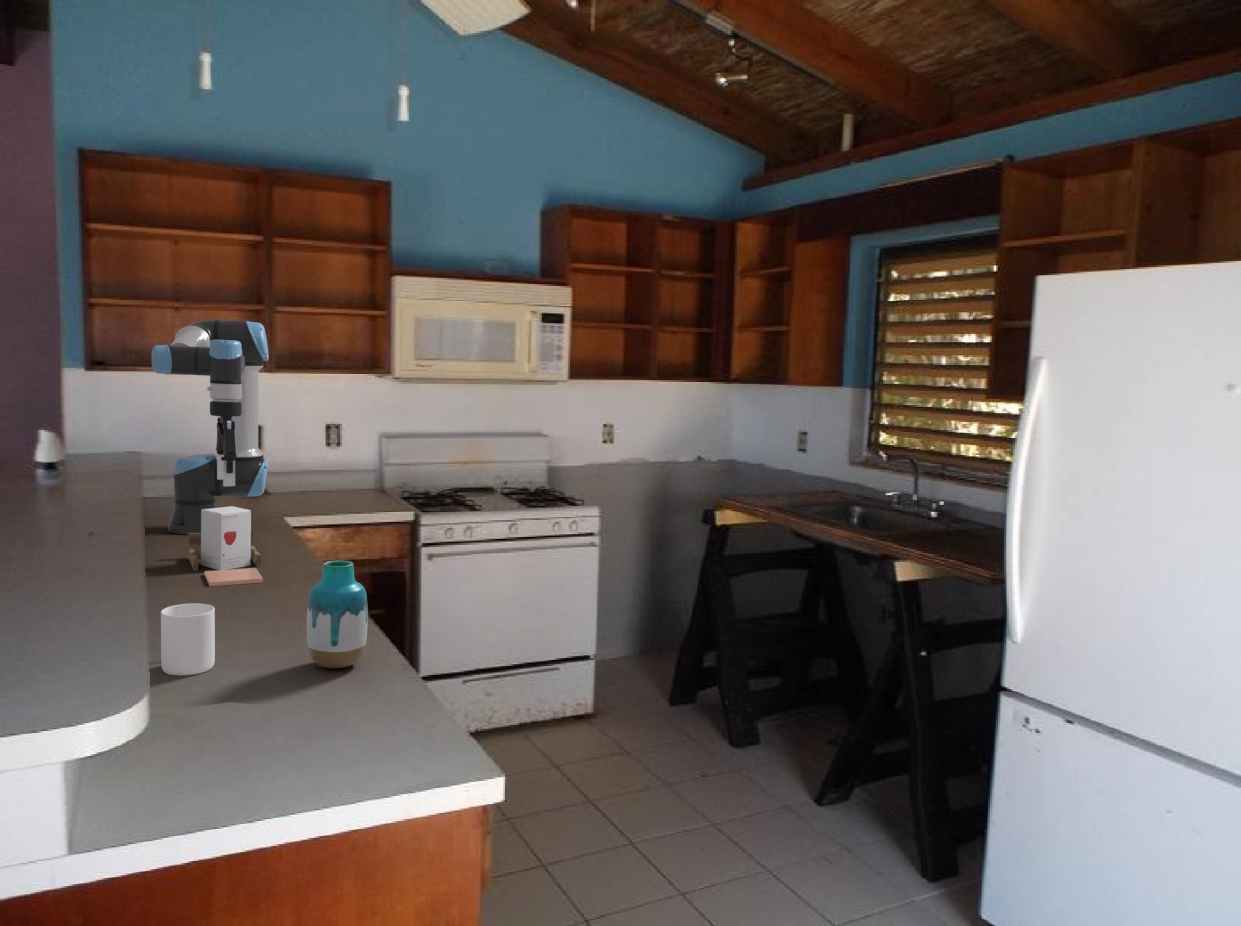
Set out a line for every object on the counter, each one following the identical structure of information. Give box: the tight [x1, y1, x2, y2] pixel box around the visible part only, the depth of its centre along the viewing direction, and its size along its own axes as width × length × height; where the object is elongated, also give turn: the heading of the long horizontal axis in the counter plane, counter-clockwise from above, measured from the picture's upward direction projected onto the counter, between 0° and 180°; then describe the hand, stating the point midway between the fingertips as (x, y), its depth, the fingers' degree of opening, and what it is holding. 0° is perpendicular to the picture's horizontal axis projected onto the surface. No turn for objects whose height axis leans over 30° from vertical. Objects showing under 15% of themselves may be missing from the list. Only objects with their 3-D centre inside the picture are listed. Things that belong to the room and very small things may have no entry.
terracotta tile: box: [204, 567, 264, 587], centre depth 225 cm, size 12×12×1 cm
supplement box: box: [200, 505, 252, 571], centre depth 237 cm, size 9×9×15 cm
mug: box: [160, 602, 216, 677], centre depth 163 cm, size 9×12×11 cm
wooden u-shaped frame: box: [187, 529, 262, 572], centre depth 242 cm, size 16×16×7 cm
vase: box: [306, 559, 369, 669], centre depth 166 cm, size 11×11×19 cm
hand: (225, 482), depth 236 cm, fingers open, 13 cm apart
